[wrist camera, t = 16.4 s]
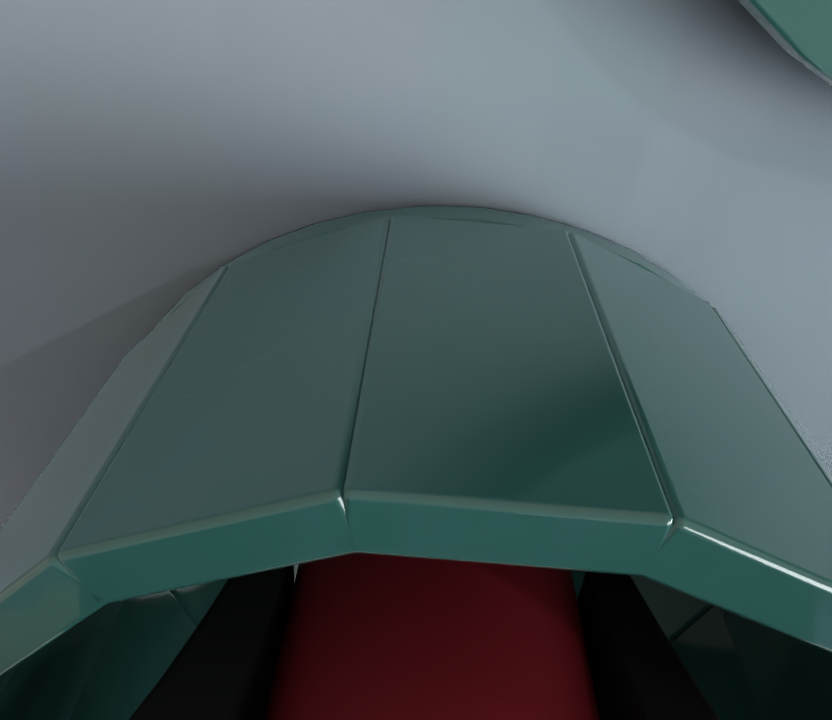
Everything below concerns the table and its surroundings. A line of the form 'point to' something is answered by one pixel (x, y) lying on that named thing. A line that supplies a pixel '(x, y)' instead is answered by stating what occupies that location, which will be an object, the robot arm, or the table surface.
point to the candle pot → (427, 457)
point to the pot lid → (799, 30)
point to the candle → (431, 643)
